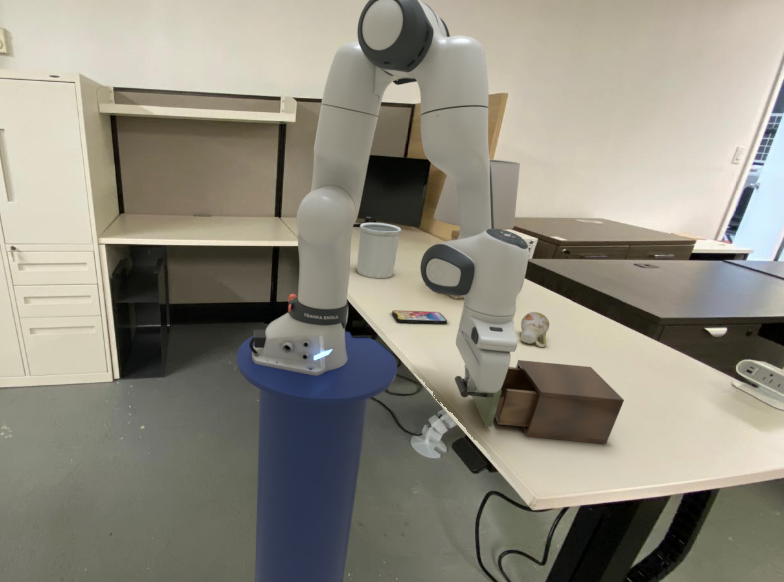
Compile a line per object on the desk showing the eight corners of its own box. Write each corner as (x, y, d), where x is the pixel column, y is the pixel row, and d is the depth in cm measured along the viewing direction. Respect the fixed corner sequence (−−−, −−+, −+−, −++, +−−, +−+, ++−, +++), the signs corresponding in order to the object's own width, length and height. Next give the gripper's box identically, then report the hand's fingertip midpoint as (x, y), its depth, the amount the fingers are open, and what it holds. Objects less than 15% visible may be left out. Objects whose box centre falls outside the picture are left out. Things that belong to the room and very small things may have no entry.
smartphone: (448, 321, 134) (398, 319, 132) (447, 324, 135) (397, 322, 132) (439, 311, 141) (391, 310, 139) (438, 314, 141) (391, 313, 139)
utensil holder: (387, 281, 168) (394, 233, 161) (349, 273, 174) (354, 226, 166) (399, 272, 180) (406, 226, 173) (363, 265, 186) (368, 220, 178)
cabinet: (526, 436, 86) (541, 392, 82) (506, 400, 98) (517, 359, 94) (606, 444, 86) (624, 400, 82) (576, 407, 98) (590, 366, 93)
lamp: (407, 284, 166) (428, 154, 148) (463, 281, 176) (489, 158, 158) (450, 310, 146) (481, 162, 127) (511, 304, 155) (548, 165, 137)
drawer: (458, 423, 87) (467, 387, 84) (447, 392, 97) (454, 359, 94) (558, 433, 86) (570, 397, 83) (535, 400, 97) (546, 367, 93)
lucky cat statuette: (512, 343, 126) (517, 307, 127) (521, 349, 134) (526, 315, 135) (541, 345, 122) (546, 308, 123) (549, 351, 129) (554, 316, 130)
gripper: (456, 301, 94) (443, 361, 100) (482, 344, 75) (464, 415, 81) (487, 304, 94) (472, 364, 99) (521, 347, 75) (500, 419, 81)
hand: (469, 388), depth 90 cm, fingers closed, pressing on drawer
